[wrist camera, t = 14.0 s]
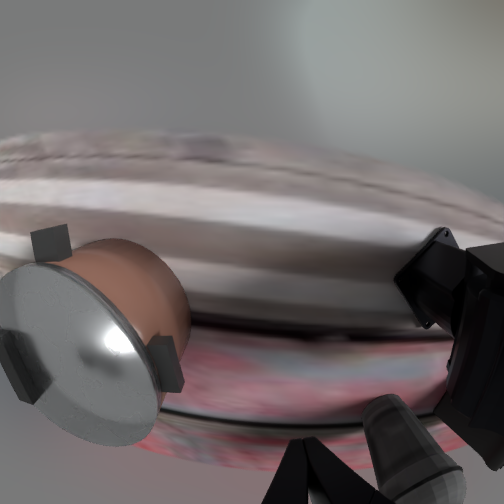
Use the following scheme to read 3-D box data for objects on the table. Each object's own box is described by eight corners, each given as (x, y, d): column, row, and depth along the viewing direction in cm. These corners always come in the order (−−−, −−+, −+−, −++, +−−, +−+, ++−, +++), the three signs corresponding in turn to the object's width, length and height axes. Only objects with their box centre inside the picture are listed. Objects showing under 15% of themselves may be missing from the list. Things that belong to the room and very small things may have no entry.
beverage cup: (370, 379, 22) (459, 566, 2) (424, 385, 22) (517, 525, 3) (336, 432, 24) (379, 598, 4) (390, 433, 24) (448, 569, 4)
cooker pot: (185, 201, 19) (139, 210, 11) (217, 388, 22) (205, 459, 14) (48, 226, 19) (-19, 245, 12) (94, 382, 23) (57, 432, 15)
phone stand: (432, 410, 23) (477, 480, 12) (459, 368, 22) (518, 434, 10) (473, 407, 24) (514, 461, 12) (496, 370, 22) (547, 420, 11)
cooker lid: (126, 250, 11) (104, 262, 9) (185, 446, 14) (179, 469, 12) (-17, 269, 12) (-37, 278, 10) (44, 418, 14) (33, 433, 13)
